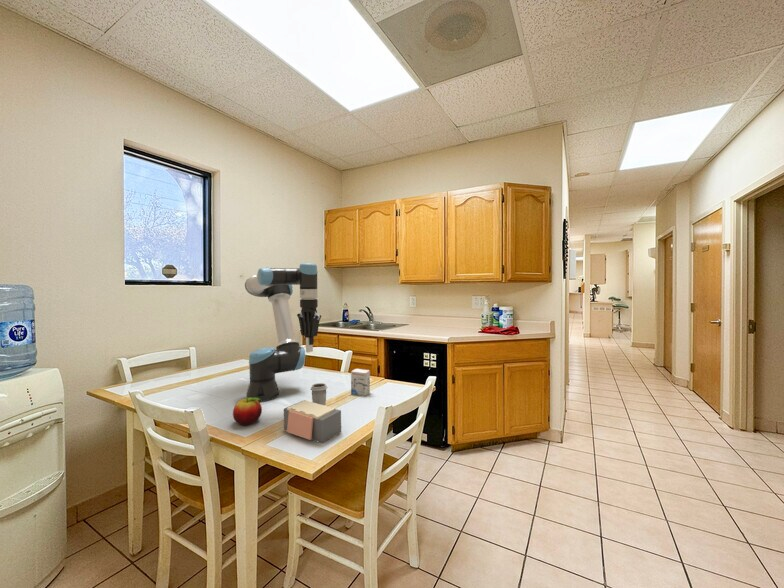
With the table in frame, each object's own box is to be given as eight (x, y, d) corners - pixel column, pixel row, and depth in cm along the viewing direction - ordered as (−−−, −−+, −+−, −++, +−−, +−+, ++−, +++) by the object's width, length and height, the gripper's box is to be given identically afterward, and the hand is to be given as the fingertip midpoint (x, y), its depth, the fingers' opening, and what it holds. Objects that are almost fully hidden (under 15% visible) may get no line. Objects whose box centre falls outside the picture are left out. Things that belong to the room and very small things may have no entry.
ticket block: (284, 429, 125) (283, 406, 125) (303, 420, 134) (303, 398, 133) (322, 443, 115) (322, 417, 114) (341, 431, 123) (340, 408, 123)
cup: (312, 416, 137) (311, 388, 136) (309, 411, 143) (309, 384, 142) (329, 413, 140) (328, 386, 139) (325, 408, 146) (325, 381, 145)
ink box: (350, 394, 164) (350, 370, 163) (355, 390, 168) (355, 368, 168) (365, 396, 161) (365, 372, 160) (370, 393, 165) (370, 370, 165)
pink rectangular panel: (288, 431, 122) (286, 431, 121) (290, 410, 123) (288, 411, 122) (311, 439, 116) (310, 439, 115) (313, 417, 116) (312, 418, 116)
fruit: (241, 416, 138) (240, 393, 137) (266, 416, 137) (266, 393, 137) (227, 428, 127) (226, 402, 126) (255, 428, 127) (254, 403, 126)
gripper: (292, 298, 144) (292, 351, 145) (312, 299, 137) (313, 355, 138) (305, 297, 150) (305, 348, 151) (325, 298, 143) (326, 352, 144)
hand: (309, 351), depth 145 cm, fingers closed
